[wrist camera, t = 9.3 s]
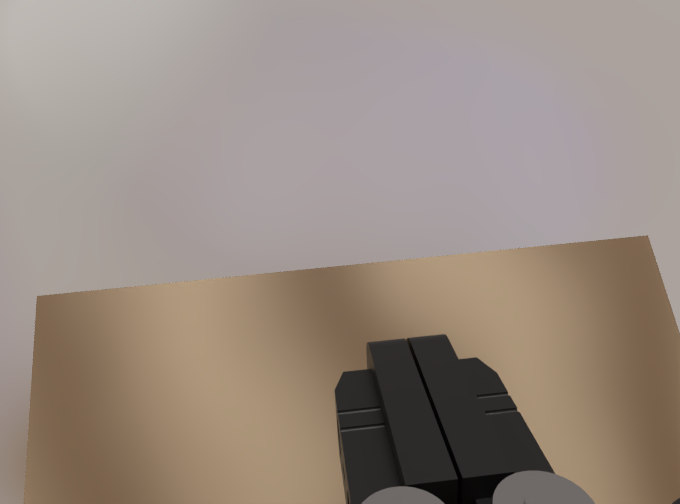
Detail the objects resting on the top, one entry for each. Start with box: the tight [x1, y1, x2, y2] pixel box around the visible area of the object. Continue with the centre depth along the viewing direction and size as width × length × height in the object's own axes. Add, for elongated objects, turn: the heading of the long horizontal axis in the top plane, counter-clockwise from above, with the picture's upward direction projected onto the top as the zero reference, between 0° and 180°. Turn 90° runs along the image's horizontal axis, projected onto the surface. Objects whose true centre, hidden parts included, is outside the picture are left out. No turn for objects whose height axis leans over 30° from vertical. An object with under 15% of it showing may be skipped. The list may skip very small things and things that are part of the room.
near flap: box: [24, 236, 680, 504], centre depth 15 cm, size 17×8×1 cm
